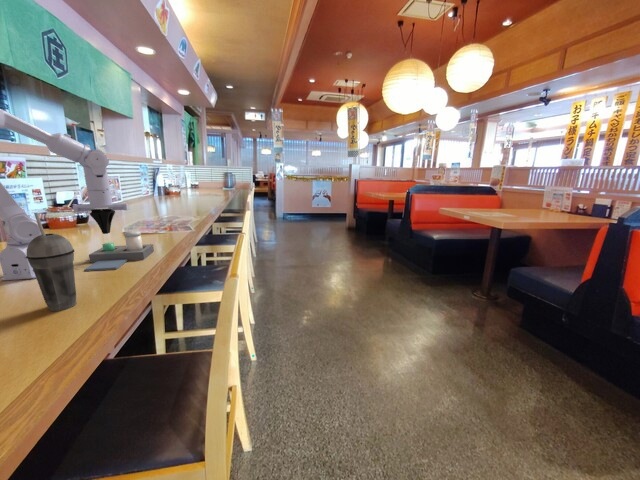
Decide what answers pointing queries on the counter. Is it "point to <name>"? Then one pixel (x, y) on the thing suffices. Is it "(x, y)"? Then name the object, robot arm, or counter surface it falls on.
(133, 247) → the cylinder
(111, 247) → the release button
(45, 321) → the counter surface
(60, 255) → the beverage cup
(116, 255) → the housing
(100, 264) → the mat
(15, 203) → the robot arm
